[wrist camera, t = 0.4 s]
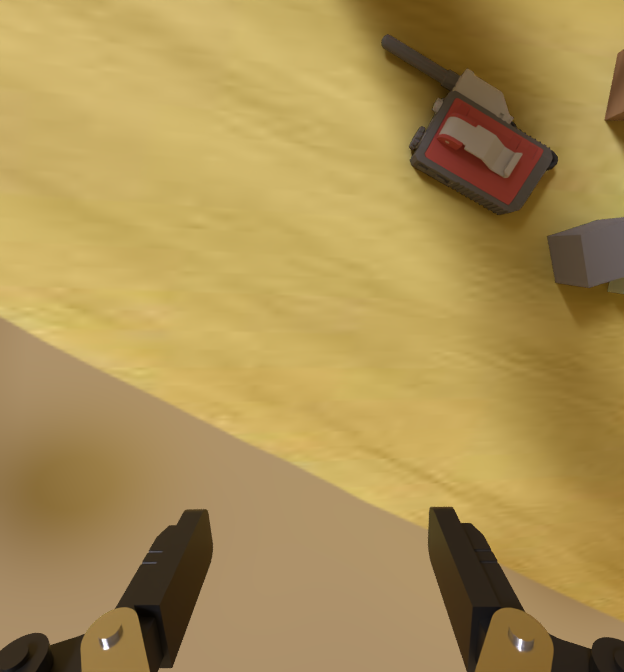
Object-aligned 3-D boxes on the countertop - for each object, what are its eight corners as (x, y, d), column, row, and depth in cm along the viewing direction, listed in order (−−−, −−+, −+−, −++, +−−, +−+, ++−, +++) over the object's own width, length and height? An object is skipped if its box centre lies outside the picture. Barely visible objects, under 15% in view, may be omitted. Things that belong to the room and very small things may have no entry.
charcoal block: (546, 236, 36) (580, 234, 32) (597, 220, 36) (639, 215, 31) (554, 282, 37) (589, 287, 33) (603, 267, 37) (645, 270, 32)
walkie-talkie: (562, 142, 35) (385, 34, 33) (596, 128, 30) (394, 3, 29) (509, 225, 37) (340, 127, 35) (533, 222, 32) (342, 111, 31)
